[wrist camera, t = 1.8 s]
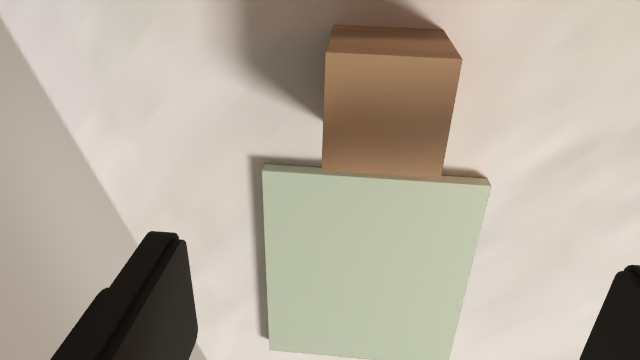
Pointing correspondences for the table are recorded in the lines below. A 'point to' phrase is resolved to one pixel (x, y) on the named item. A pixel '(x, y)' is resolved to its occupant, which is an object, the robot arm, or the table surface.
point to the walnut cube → (388, 100)
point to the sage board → (368, 260)
